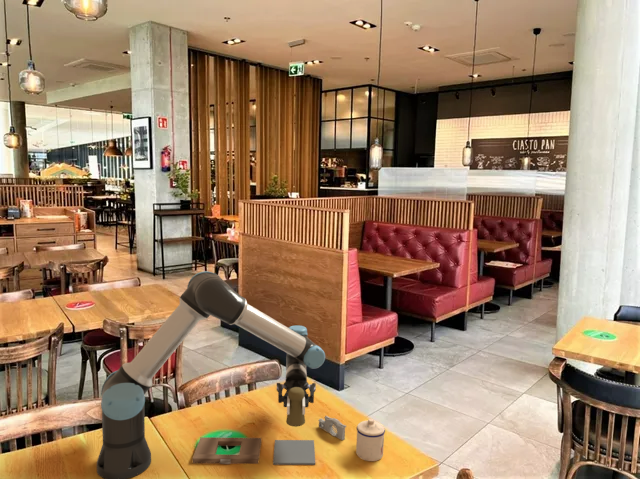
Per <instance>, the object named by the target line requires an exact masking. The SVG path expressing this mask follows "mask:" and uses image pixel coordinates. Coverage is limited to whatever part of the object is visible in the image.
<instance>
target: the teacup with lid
mask: <svg viewBox="0 0 640 479" xmlns="http://www.w3.org/2000/svg"><path fill="white" fill-rule="evenodd" d="M385 433H386V429H385V427H384V425H383V424H382V423H380V422H378V421H376V420H375V419H373V418H369V419H367V420H363V421H360V422H359V423H358V424H357V426H356V447H355V448H356V449H355V451H356V452H355V453H356V455H357V457H358V458H360V459H361V460H364V461H365V462H376V461H379V460H381V459H382V458H383V456H384V444H385Z"/></svg>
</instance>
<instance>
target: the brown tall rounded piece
mask: <svg viewBox="0 0 640 479" xmlns="http://www.w3.org/2000/svg"><path fill="white" fill-rule="evenodd" d="M288 397H289V399H290V410H289V415H287V414H286V420H285V422H286V425H288V426H289V427H290V426H291V427H295V428H297V427H302V426H303V425H304V424H305V423H306V419H305V417H306V416H305V415H302V399H303V398H304V390H303V389H302V388H300V387H293V388H291V389H290V390H289V392H288Z"/></svg>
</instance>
